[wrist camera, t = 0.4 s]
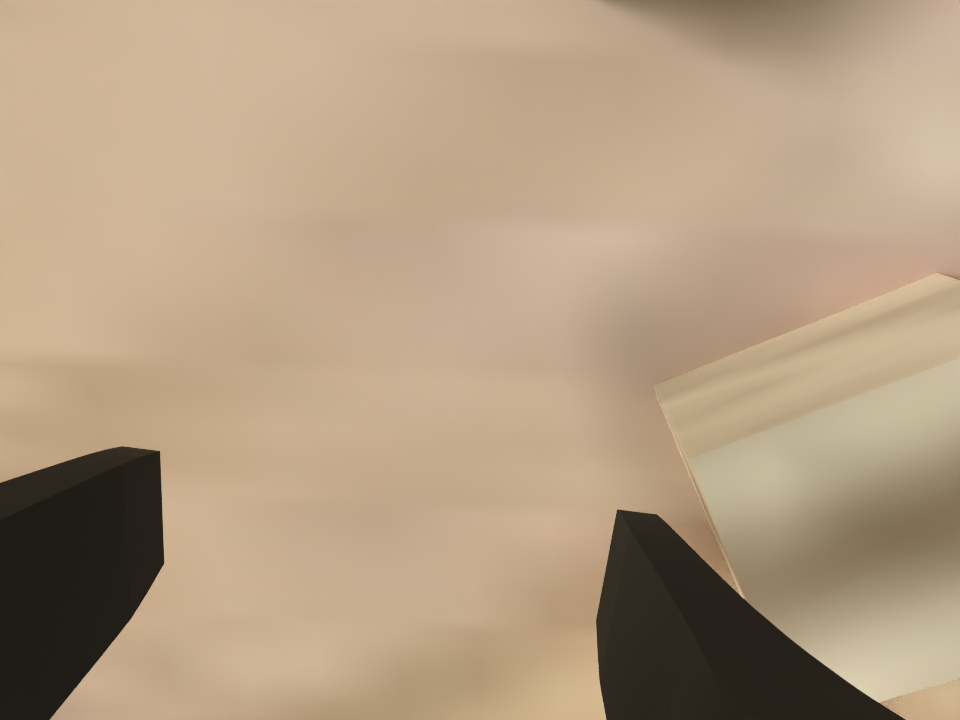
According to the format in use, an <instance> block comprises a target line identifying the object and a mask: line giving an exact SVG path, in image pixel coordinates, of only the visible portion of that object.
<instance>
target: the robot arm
mask: <svg viewBox="0 0 960 720" xmlns="http://www.w3.org/2000/svg"><path fill="white" fill-rule="evenodd" d="M163 564H164V547H163V520H162V494H161V467H160V451H154V450H146V449H138V448H131V447H123V446H122V447H117V448H112V449H107V450H103V451H99V452H96V453H92V454H88V455H85V456H82V457H78V458H75V459H72V460H69V461H66V462H63V463H59V464H56V465H53V466H50V467H47V468H44V469H41V470H38V471H35V472H32V473H29V474H26V475H23V476H20V477H17V478H14V479H11V480H8V481H5V482H2V483H0V720H50V718H51V717H52V716H53V715H54V713H55V712H56V711H57V710H58V709H59V707H60V706H61V705H62V704H63V702H64V701H65V700H66V699H67V698H68V696H69V695H70V694H71V693H72V691H73V690H74V689H75V688H76V686H77V685H78V684H79V683H80V682H81V680H82V679H83V678H84V677H85V675H86V674H87V673H88V672H89V671H90V669H91V668H92V667H93V666H94V664H95V663H96V662H97V661H98V659H99V658H100V657H101V656H102V654H103V653H104V652H105V651H106V649H107V648H108V647H109V646H110V644H111V643H112V642H113V641H114V639H115V638H116V637H117V636H118V634H119V633H120V632H121V631H122V629H123V628H124V627H125V625H126V624H127V623H128V622H129V620H130V619H131V618H132V616H133V615H134V613H135V611H136V610H137V608H138V607H139V605H140V603H141V602H142V600H143V599H144V597H145V595H146V594H147V592H148V590H149V589H150V587H151V585H152V584H153V582H154V580H155V578H156V577H157V575H158V573H159V571H160V570H161V568H162V566H163ZM596 626H597V646H598V663H599V678H600V686H601V691H602V697H603V703H604V708H605V714H606V719H607V720H905V719H903V718H902V717H900V716H899V715H897V714H896V713H894V712H892V711H891V710H889V709H888V708H886V707H884V706H883V705H881V704H880V703H878V702H877V701H875V700H874V699H872V698H871V697H869V696H868V695H866V694H865V693H863V692H862V691H860V690H859V689H857V688H856V687H854V686H853V685H851V684H850V683H849V682H847V681H846V680H845V679H843V678H842V677H840V676H839V675H838V674H836V673H835V672H834V671H832V670H831V669H830V668H828V667H827V666H825V665H824V664H823V663H821V662H820V661H819V660H817V659H816V658H815V657H813V656H812V655H810V654H809V653H808V652H806V651H805V650H804V649H803V648H801V647H800V646H799V645H798V644H796V643H795V642H794V641H793V640H791V639H790V638H789V637H788V636H786V635H785V634H784V633H783V632H782V631H780V630H779V629H778V628H777V627H776V626H775V625H773V624H772V623H771V622H770V621H769V620H768V619H766V618H765V617H764V616H763V615H762V614H761V613H759V612H758V611H757V610H756V609H755V608H754V607H752V606H751V605H750V604H749V603H748V602H747V601H746V600H745V599H744V598H743V597H741V596H740V595H739V594H738V593H737V592H736V591H735V590H734V589H733V588H732V587H731V586H730V585H729V584H728V583H726V582H725V581H724V580H723V579H722V578H721V577H720V576H719V575H718V574H717V573H716V572H715V571H714V570H713V569H712V568H711V567H710V566H709V565H708V564H707V563H706V562H705V561H704V560H703V559H702V558H701V557H700V556H699V555H698V554H697V553H696V552H695V551H694V550H693V549H692V548H691V547H690V546H689V545H688V544H687V543H686V542H685V541H684V540H683V539H682V538H681V537H680V536H679V535H678V534H677V533H676V532H675V531H674V530H673V529H672V528H671V527H670V526H669V525H668V524H667V523H666V522H665V521H664V520H663V519H661V518H660V517H659V516H658V515H656V514H648V513H640V512H632V511H624V510H617V514H616V519H615V524H614V529H613V535H612V540H611V545H610V551H609V556H608V561H607V566H606V572H605V577H604V582H603V588H602V593H601V598H600V603H599V609H598V614H597V619H596Z"/></svg>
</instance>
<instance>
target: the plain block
mask: <svg viewBox="0 0 960 720" xmlns="http://www.w3.org/2000/svg"><path fill="white" fill-rule="evenodd" d="M652 387H653V390H654V392H655V395H656V397H657V399H658V402H659V404H660V407H661V409H662V411H663V414H664V416H665V419H666V421H667V423H668V426H669V428H670V431H671V433H672V435H673V438H674V440H675V443H676V445H677V447H678V450H679V452H680V455H681V457H682V459H683V462H684V464H685V467H686V469H687V471H688V474H689V476H690V479H691V481H692V483H693V486H694V488H695V491H696V493H697V495H698V498H699V500H700V503H701V505H702V507H703V510H704V512H705V515H706V517H707V519H708V522H709V524H710V527H711V529H712V531H713V534H714V536H715V539H716V541H717V543H718V546H719V548H720V551H721V553H722V555H723V558H724V560H725V563H726V565H727V567H728V570H729V572H730V575H731V577H732V579H733V582H734V584H735V587H736V589H737V591H738V594H739V595H740V596H741V597H743V598H744V599H745V600H746V601H747V602H748V603H749V604H750V605H751V606H752V607H754V608H755V609H756V610H757V611H758V612H759V613H761V614H762V615H763V616H764V617H765V618H766V619H768V620H769V621H770V622H771V623H772V624H773V625H775V626H776V627H777V628H778V629H779V630H780V631H782V632H783V633H784V634H785V635H786V636H788V637H789V638H790V639H791V640H793V641H794V642H795V643H796V644H798V645H799V646H800V647H801V648H803V649H804V650H805V651H806V652H808V653H809V654H810V655H812V656H813V657H815V658H816V659H817V660H819V661H820V662H821V663H823V664H824V665H825V666H827V667H828V668H830V669H831V670H832V671H834V672H835V673H836V674H838V675H839V676H840V677H842V678H843V679H845V680H846V681H847V682H849V683H850V684H851V685H853V686H854V687H856V688H857V689H859V690H860V691H862V692H863V693H865V694H866V695H868V696H869V697H871V698H872V699H874V700H875V701H877V702H881V701H885V700H888V699H892V698H895V697H899V696H902V695H905V694H909V693H912V692H916V691H919V690H923V689H926V688H929V687H933V686H936V685H940V684H943V683H947V682H950V681H953V680H957V679H960V280H957V279H954V278H951V277H948V276H945V275H942V274H939V273H936V274H933V275H931V276H928V277H926V278H923V279H920V280H918V281H915V282H913V283H910V284H908V285H905V286H903V287H900V288H898V289H895V290H893V291H890V292H888V293H885V294H883V295H880V296H878V297H875V298H873V299H870V300H868V301H865V302H862V303H860V304H857V305H855V306H852V307H850V308H847V309H845V310H842V311H840V312H837V313H835V314H832V315H830V316H827V317H825V318H822V319H820V320H817V321H815V322H812V323H810V324H807V325H805V326H802V327H799V328H797V329H794V330H792V331H789V332H787V333H784V334H782V335H779V336H777V337H774V338H772V339H769V340H767V341H764V342H762V343H759V344H757V345H754V346H752V347H749V348H747V349H744V350H742V351H739V352H736V353H734V354H731V355H729V356H726V357H724V358H721V359H719V360H716V361H714V362H711V363H709V364H706V365H704V366H701V367H699V368H696V369H694V370H691V371H689V372H686V373H684V374H681V375H679V376H676V377H673V378H671V379H668V380H666V381H663V382H661V383H658V384H656V385H653V386H652Z"/></svg>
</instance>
